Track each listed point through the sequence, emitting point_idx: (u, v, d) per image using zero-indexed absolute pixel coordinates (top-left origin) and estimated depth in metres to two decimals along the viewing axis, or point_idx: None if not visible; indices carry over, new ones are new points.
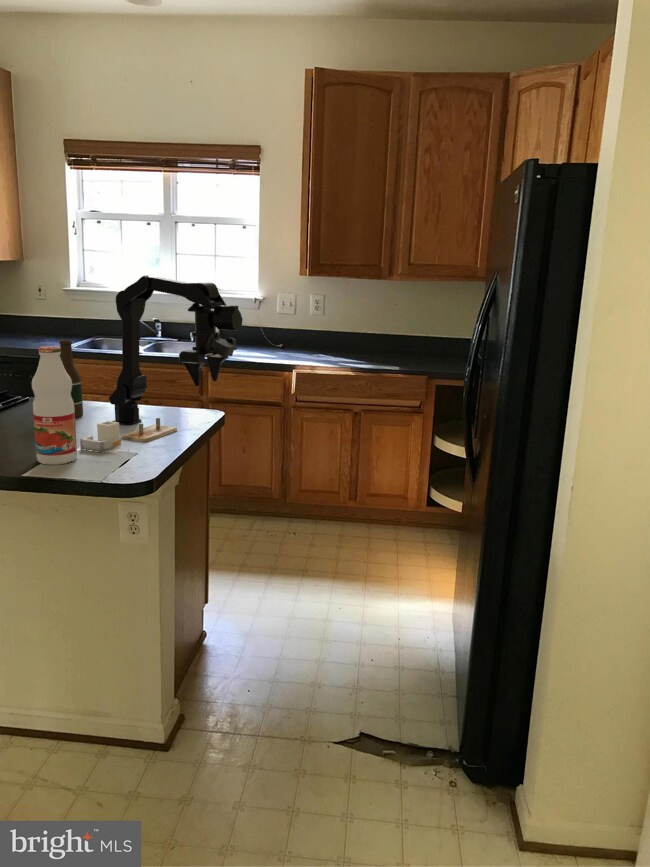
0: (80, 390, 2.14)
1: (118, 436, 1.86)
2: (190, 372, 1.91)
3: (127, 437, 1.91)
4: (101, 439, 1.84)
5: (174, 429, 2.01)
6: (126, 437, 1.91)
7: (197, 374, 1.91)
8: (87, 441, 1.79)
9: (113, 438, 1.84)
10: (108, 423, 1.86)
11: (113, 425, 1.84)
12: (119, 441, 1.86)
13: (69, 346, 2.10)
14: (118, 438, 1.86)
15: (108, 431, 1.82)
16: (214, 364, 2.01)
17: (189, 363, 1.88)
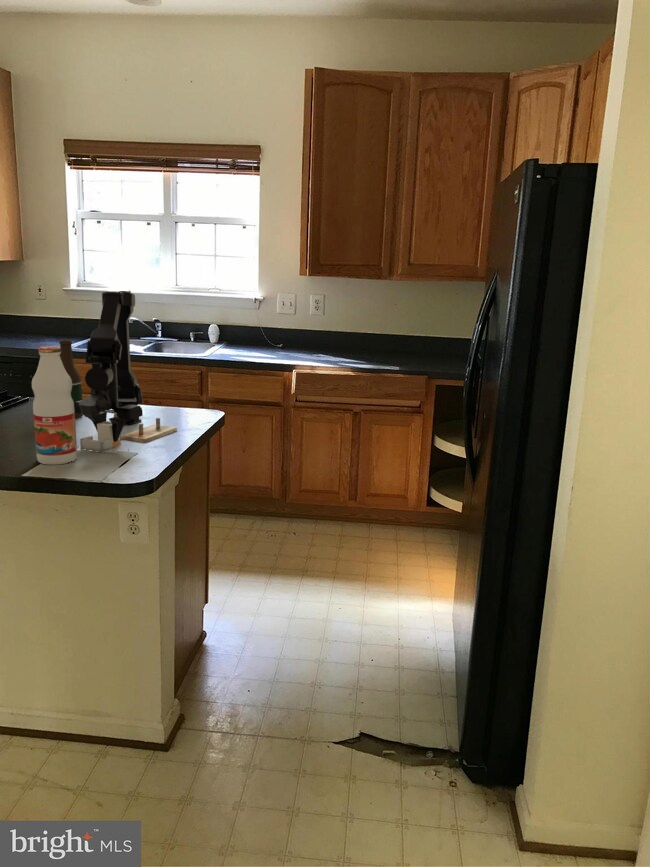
0: (80, 390, 2.14)
1: None
2: None
3: (127, 437, 1.91)
4: (101, 439, 1.84)
5: (174, 429, 2.01)
6: (126, 437, 1.91)
7: None
8: (87, 441, 1.79)
9: None
10: (108, 423, 1.86)
11: None
12: (119, 441, 1.86)
13: (69, 346, 2.10)
14: (118, 438, 1.86)
15: (108, 431, 1.82)
16: None
17: None
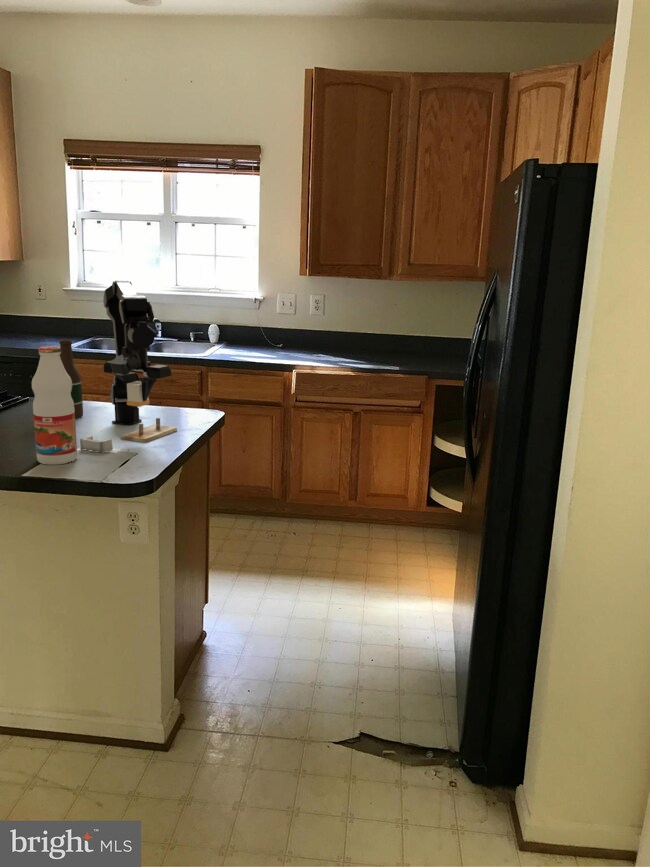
0: (80, 390, 2.14)
1: None
2: None
3: (127, 437, 1.91)
4: (131, 398, 1.89)
5: (174, 429, 2.01)
6: (126, 437, 1.91)
7: None
8: (87, 441, 1.79)
9: None
10: (137, 383, 1.91)
11: None
12: (148, 401, 1.92)
13: (69, 346, 2.10)
14: (147, 398, 1.91)
15: (138, 390, 1.88)
16: None
17: None
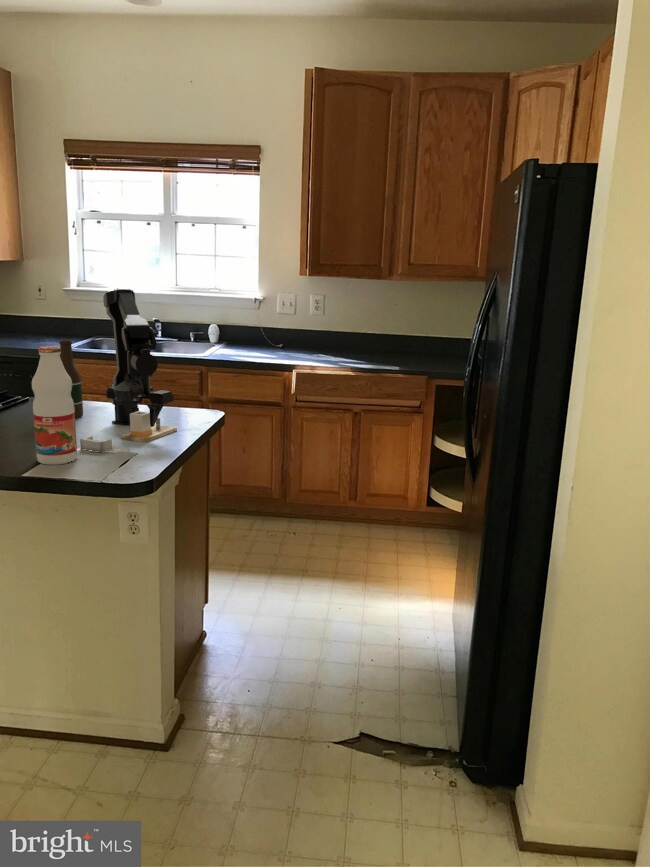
0: (80, 390, 2.14)
1: (149, 426, 1.94)
2: None
3: (127, 437, 1.91)
4: (134, 428, 1.92)
5: (174, 429, 2.01)
6: (126, 437, 1.91)
7: None
8: (87, 441, 1.79)
9: (145, 427, 1.92)
10: (140, 413, 1.94)
11: (145, 415, 1.91)
12: (150, 430, 1.94)
13: (69, 346, 2.10)
14: (149, 427, 1.94)
15: (141, 421, 1.90)
16: None
17: None
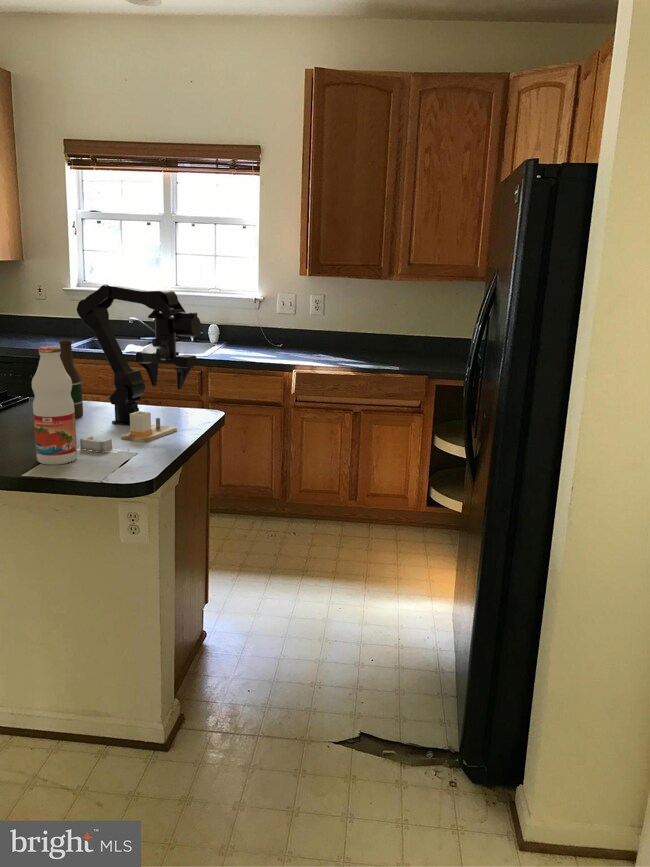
0: (80, 390, 2.14)
1: (149, 426, 1.94)
2: None
3: (127, 437, 1.91)
4: (134, 428, 1.92)
5: (174, 429, 2.01)
6: (126, 437, 1.91)
7: None
8: (87, 441, 1.79)
9: (145, 427, 1.92)
10: (140, 413, 1.94)
11: (145, 415, 1.91)
12: (150, 430, 1.94)
13: (69, 346, 2.10)
14: (149, 427, 1.94)
15: (141, 421, 1.90)
16: None
17: None
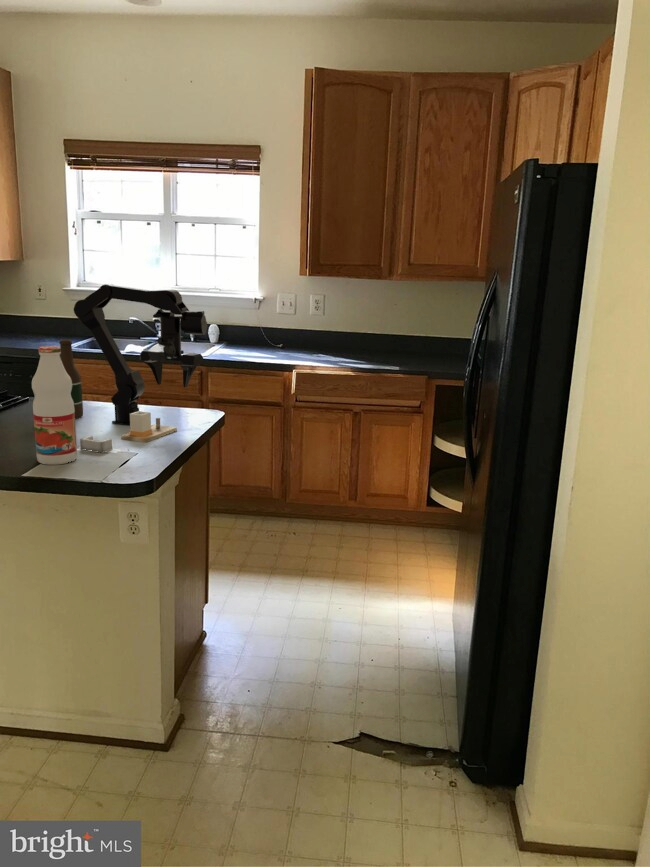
0: (80, 390, 2.14)
1: (149, 426, 1.94)
2: None
3: (127, 437, 1.91)
4: (134, 428, 1.92)
5: (174, 429, 2.01)
6: (126, 437, 1.91)
7: None
8: (87, 441, 1.79)
9: (145, 427, 1.92)
10: (140, 413, 1.94)
11: (145, 415, 1.91)
12: (150, 430, 1.94)
13: (69, 346, 2.10)
14: (149, 427, 1.94)
15: (141, 421, 1.90)
16: None
17: None
